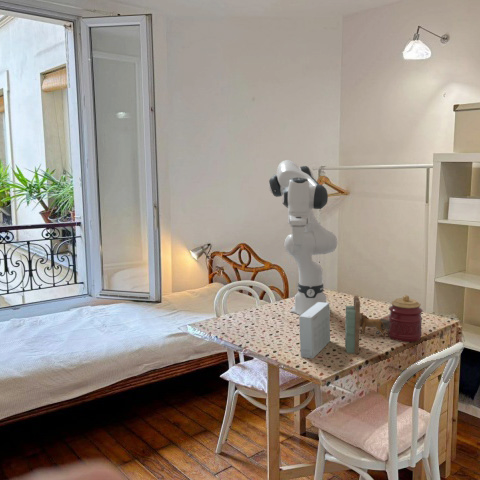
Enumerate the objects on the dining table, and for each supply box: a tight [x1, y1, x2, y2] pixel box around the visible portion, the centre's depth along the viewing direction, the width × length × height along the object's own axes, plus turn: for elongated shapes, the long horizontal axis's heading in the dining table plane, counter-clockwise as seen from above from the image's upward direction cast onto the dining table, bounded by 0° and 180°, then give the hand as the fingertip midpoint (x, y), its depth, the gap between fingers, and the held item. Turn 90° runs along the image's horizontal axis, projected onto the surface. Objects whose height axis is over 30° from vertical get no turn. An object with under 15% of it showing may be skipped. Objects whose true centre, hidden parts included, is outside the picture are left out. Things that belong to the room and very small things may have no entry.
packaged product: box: [374, 313, 390, 331], centre depth 223 cm, size 18×5×10 cm
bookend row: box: [344, 295, 361, 355], centre depth 193 cm, size 9×4×20 cm, turn 172°
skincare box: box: [298, 302, 331, 359], centre depth 195 cm, size 21×6×16 cm, turn 152°
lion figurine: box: [360, 312, 389, 338], centre depth 211 cm, size 15×5×9 cm, turn 73°
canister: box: [387, 294, 423, 343], centre depth 206 cm, size 13×13×18 cm
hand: (298, 253), depth 204 cm, fingers open, 8 cm apart
